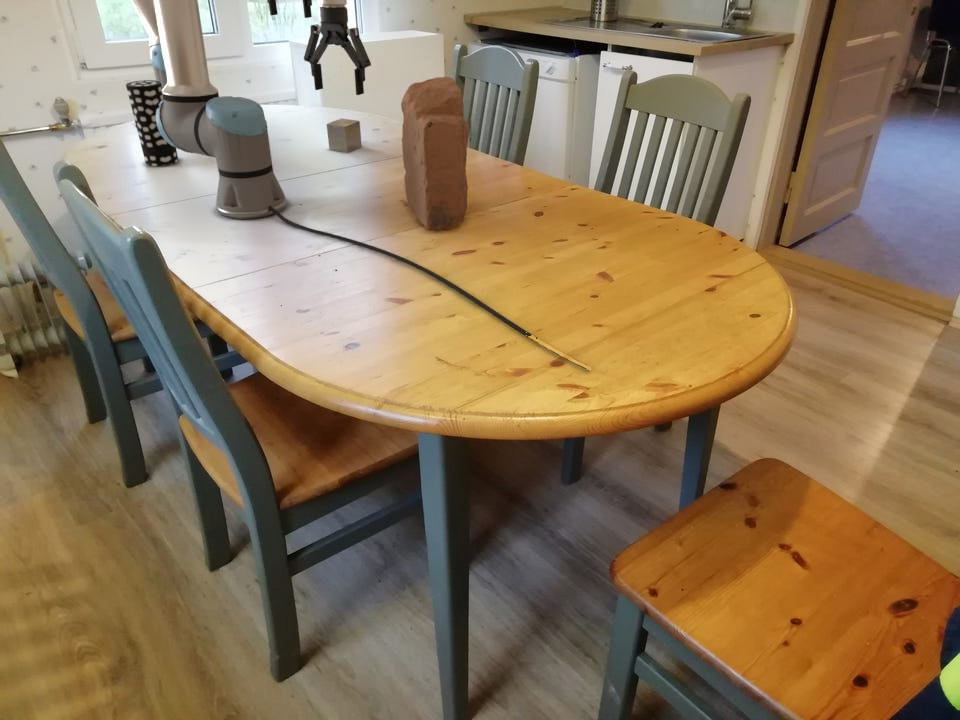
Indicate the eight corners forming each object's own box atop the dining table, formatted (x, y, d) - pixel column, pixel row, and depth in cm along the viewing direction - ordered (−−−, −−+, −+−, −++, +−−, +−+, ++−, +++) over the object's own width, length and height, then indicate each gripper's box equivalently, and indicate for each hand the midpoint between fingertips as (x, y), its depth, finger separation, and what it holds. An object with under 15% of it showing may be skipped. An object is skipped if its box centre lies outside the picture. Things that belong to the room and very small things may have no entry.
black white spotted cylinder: (184, 157, 190) (167, 80, 179) (169, 166, 183) (151, 87, 172) (155, 156, 190) (136, 79, 179) (139, 165, 183) (119, 86, 172)
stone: (478, 228, 148) (477, 89, 134) (427, 234, 145) (421, 93, 131) (450, 199, 166) (446, 74, 151) (404, 203, 163) (396, 76, 148)
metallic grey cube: (361, 146, 202) (359, 120, 198) (347, 152, 196) (345, 126, 192) (343, 143, 204) (341, 118, 200) (329, 149, 198) (326, 123, 194)
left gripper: (322, -61, 209) (329, 17, 221) (257, -62, 218) (267, 12, 229) (307, -60, 203) (315, 19, 215) (241, -62, 212) (252, 15, 224)
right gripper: (380, 7, 179) (385, 94, 190) (302, 2, 187) (310, 85, 198) (365, 9, 173) (370, 98, 184) (284, 4, 181) (294, 89, 193)
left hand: (291, 16), depth 222 cm, fingers open, 13 cm apart
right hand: (339, 91), depth 191 cm, fingers open, 13 cm apart
